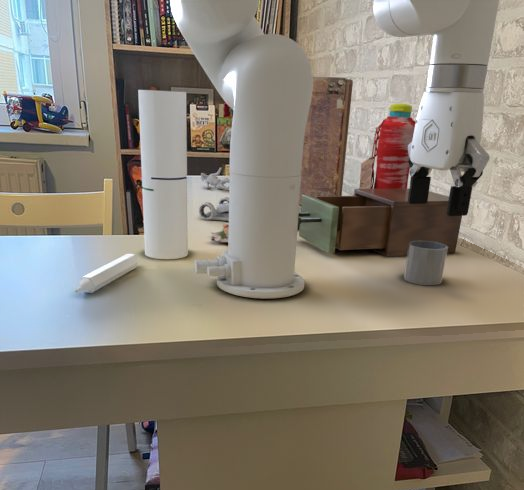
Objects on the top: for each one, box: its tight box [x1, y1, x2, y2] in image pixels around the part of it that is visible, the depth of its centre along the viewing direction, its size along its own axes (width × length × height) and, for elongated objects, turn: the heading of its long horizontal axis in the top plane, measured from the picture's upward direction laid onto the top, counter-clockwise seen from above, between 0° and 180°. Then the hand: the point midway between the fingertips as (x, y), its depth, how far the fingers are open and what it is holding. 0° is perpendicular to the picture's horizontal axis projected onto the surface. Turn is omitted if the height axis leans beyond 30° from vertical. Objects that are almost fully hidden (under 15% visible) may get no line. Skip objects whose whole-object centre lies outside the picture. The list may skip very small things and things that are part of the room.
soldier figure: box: [200, 167, 230, 191], centre depth 164 cm, size 8×5×12 cm
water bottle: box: [358, 102, 416, 189], centre depth 119 cm, size 12×8×25 cm, turn 66°
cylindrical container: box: [137, 89, 189, 260], centre depth 89 cm, size 7×7×25 cm
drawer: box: [298, 194, 391, 254], centre depth 101 cm, size 19×13×8 cm
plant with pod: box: [210, 126, 232, 243], centre depth 101 cm, size 8×11×20 cm
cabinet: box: [353, 188, 463, 258], centre depth 106 cm, size 15×15×10 cm
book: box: [299, 76, 354, 207], centre depth 143 cm, size 25×9×30 cm, turn 73°
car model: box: [198, 196, 301, 222], centre depth 121 cm, size 11×24×5 cm, turn 65°
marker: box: [74, 253, 140, 294], centre depth 78 cm, size 3×2×16 cm
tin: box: [403, 241, 448, 286], centre depth 86 cm, size 6×6×6 cm
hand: (436, 209), depth 83 cm, fingers open, 9 cm apart
